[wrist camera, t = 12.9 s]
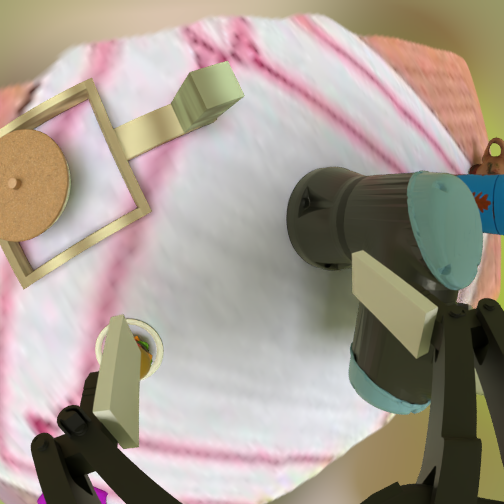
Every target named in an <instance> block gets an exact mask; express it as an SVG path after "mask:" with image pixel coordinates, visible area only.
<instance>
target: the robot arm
mask: <svg viewBox="0 0 504 504" xmlns="http://www.w3.org/2000/svg"><path fill="white" fill-rule="evenodd" d="M287 228H288V233H289V237H290V240H291V243H292V245H293V247H294V249H295V250H296V252H297V253H298V254H299V256H300V257H301V258H302V259H303V260H304V261H306V262H307V263H309V264H310V265H312V266H315V267H318V268H322V269H325V270H342V269H346V268H351V267H352V293H353V294H354V295H355V296H356V297H357V298H358V299H359V300H360V301H359V308H358V315H357V321H356V327H355V333H354V339H353V342H352V343H351V346H350V355H351V357H350V365H349V380H350V383H351V385H352V386H353V388H354V389H355V390H356V392H357V394H358V395H359V396H360V397H361V398H362V399H364V400H365V401H366V402H368V403H369V404H371V405H373V406H374V407H376V408H379V409H381V410H384V411H387V412H390V413H395V414H409V413H410V412H412V413H418V412H421V411H423V410H424V409H425V408H426V407H427V406H428V405H429V404H430V403H431V405H430V415H429V424H428V432H427V438H426V445H425V451H424V457H423V463H422V467H421V471H420V474H419V476H418V479H417V482H416V484H407V485H402V486H400V485H399V483H398V482H395V483H393V484H392V485H390V486H388V487H386V488H384V489H382V490H380V491H378V492H376V493H374V494H372V495H371V496H370V497H368V498H367V499H366V500H364V501H363V502H362V503H360V504H504V502H502V501H496V500H490V499H485V498H480V497H477V495H478V487H479V479H480V467H481V452H482V443H481V439H478V438H477V437H476V424H477V423H476V422H477V415H476V414H477V410H476V409H477V408H476V394H478V395H484V396H485V399H486V402H487V405H488V409H489V412H490V415H491V419H492V422H493V426H494V430H495V434H496V438H497V442H498V446H499V450H500V454H501V459H502V463H503V466H504V311H503V309H502V308H501V306H500V305H499V303H498V302H496V301H495V300H493V299H489V298H484V299H481V300H480V301H479V302H478V306H477V308H476V309H473V308H472V307H471V305H469V304H463V303H457V302H456V301H457V296H458V290H460V289H463V288H465V287H467V286H469V285H470V284H471V283H472V281H473V280H474V278H475V276H476V274H477V266H478V265H480V262H481V256H482V248H483V234H482V223H481V218H480V213H479V209H478V206H477V204H476V202H475V199H474V196H473V194H472V192H471V191H470V189H469V188H468V186H467V185H466V184H465V183H464V182H463V181H462V180H461V179H460V178H458V177H457V176H455V175H452V174H449V173H434V172H428V171H419V172H415V173H401V174H386V175H373V176H364V175H362V174H359V173H356V172H353V171H350V170H348V169H345V168H342V167H326V168H320V169H316V170H314V171H312V172H310V173H308V174H307V175H305V176H304V177H303V178H302V179H301V180H300V181H299V183H298V184H297V185H296V187H295V189H294V190H293V192H292V195H291V197H290V200H289V204H288V209H287ZM140 363H141V351H140V349H139V347H138V345H137V343H136V341H135V339H134V337H133V334H132V332H131V330H130V328H129V326H128V323H127V321H126V319H125V317H124V314H123V315H119V316H115V317H111V319H110V323H109V327H108V332H107V336H106V341H105V345H104V350H103V355H102V360H101V365H100V370H99V371H98V372H92V373H90V374H89V376H88V377H87V379H86V380H85V384H84V388H83V389H84V390H83V393H82V398H81V403H80V407H79V406H77V405H71V406H67V407H66V408H64V409H63V410H62V411H61V412H60V413H59V415H58V417H57V424H58V426H59V427H60V428H61V430H62V431H63V432H64V433H65V434H64V435H61V436H59V437H56V438H53V437H52V436H51V435H50V434H48V433H41V434H39V435H37V436H36V437H35V438H34V439H33V441H32V443H31V452H32V457H33V461H34V464H35V468H36V472H37V476H38V479H39V482H40V486H41V489H42V492H43V495H44V498H45V501H46V504H102V503H101V502H100V500H99V498H98V496H97V494H96V492H95V490H94V487H93V485H92V483H91V481H90V479H89V477H88V475H87V474H89V473H92V472H94V471H96V472H97V473H98V474H99V475H100V476H101V478H102V479H103V480H104V481H105V482H106V483H107V484H108V485H109V486H110V488H111V489H112V490H113V491H114V492H115V493H116V494H117V495H118V496H119V497H120V498H121V499H122V500H123V501H124V502H125V503H126V504H182V503H181V502H179V501H178V500H177V499H175V498H174V497H173V496H172V495H170V494H169V493H168V492H166V491H165V490H164V489H163V488H162V487H160V486H159V485H158V484H157V483H155V482H154V481H153V480H152V479H151V478H150V477H148V476H147V475H146V474H145V473H144V472H143V471H142V470H140V469H139V468H138V467H137V466H136V465H135V464H134V463H133V462H132V461H131V460H130V459H129V458H127V457H126V456H125V455H124V454H123V453H122V452H121V451H120V450H119V449H118V448H117V445H118V443H119V445H120V446H121V447H122V448H123V449H127V448H136V447H139V386H140Z"/></svg>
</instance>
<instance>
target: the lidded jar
mask: <svg viewBox="0 0 504 504" xmlns="http://www.w3.org/2000/svg"><path fill="white" fill-rule="evenodd" d="M70 188H71V178H70V171H69V167H68V163H67V161H66V159H65V157H64V155H63V152H62V151H61V149H60V148H59V146H58V145H57V144H56V143H55V142H54V141H53V139H51V138H50V137H49V136H47V135H46V134H44V133H42V132H40V131H36V130H33V129H21V130H16V131H13V132H10V133H8V134H6V135H4V136H2V137H1V138H0V239H3V240H6V241H12V242H21V241H26V240H30V239H32V238H34V237H36V236H39V235H40V234H42V233H43V232H45V231H46V230H47V229H49V228H50V227H51V226H52V225H53V224H54V223H55V222H56V221H57V220H58V218H59V217H60V216H61V214H62V212H63V211H64V209H65V207H66V204H67V202H68V198H69V194H70Z"/></svg>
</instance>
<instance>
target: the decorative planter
mask: <svg viewBox="0 0 504 504" xmlns="http://www.w3.org/2000/svg"><path fill="white" fill-rule="evenodd" d="M492 143H496V144H498V145H499V146H500V147H501V154H500V155H499V156H495V157H493V156H491V155H490V153H489V148H490V146H491V144H492ZM482 161H483V164H480V165H478V164H476V165H474V166H473V167H471V169H470V172H469V174H504V141H503V140H502V139H500V138H493V139H492V140H490V141H489V143H488V146H487V148H486V150H485V153H484V155H483V158H482Z"/></svg>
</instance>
